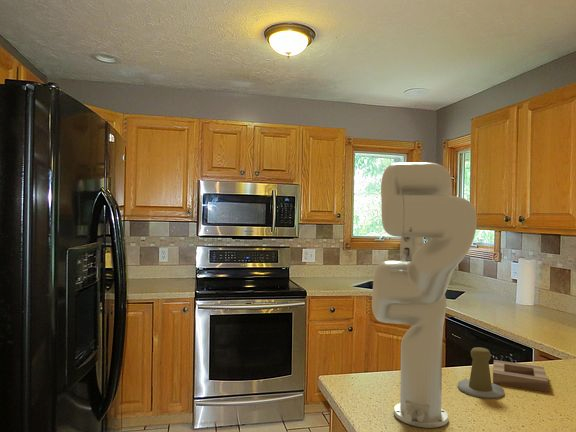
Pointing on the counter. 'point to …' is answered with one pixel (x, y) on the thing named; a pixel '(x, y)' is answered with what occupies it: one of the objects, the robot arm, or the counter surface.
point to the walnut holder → (520, 375)
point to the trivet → (495, 392)
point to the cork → (480, 370)
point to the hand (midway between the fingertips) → (411, 282)
